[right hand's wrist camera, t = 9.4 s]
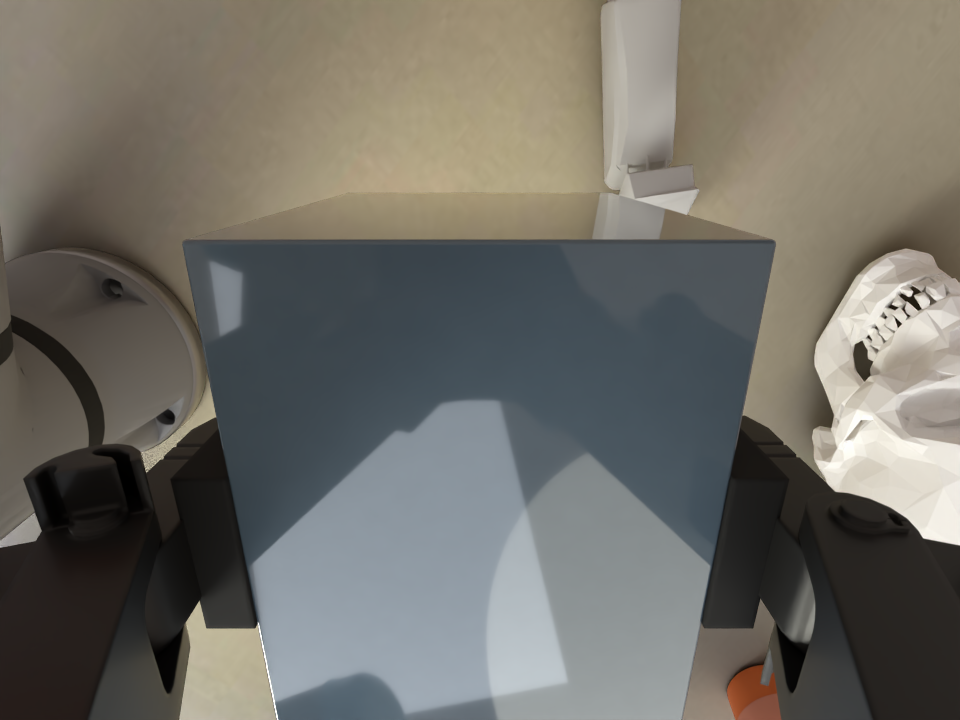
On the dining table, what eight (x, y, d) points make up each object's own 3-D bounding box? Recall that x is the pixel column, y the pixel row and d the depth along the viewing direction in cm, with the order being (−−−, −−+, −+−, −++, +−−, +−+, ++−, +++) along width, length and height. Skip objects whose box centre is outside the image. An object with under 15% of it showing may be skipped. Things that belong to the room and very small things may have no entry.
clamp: (664, 253, 36) (705, 262, 29) (608, 261, 36) (636, 272, 29) (648, -101, 30) (693, -188, 24) (582, -90, 31) (609, -173, 24)
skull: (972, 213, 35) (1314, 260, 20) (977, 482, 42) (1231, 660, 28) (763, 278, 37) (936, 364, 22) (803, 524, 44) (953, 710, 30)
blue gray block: (612, 192, 14) (778, 240, 6) (587, 484, 17) (676, 756, 9) (346, 192, 14) (179, 240, 6) (371, 484, 17) (282, 756, 9)
